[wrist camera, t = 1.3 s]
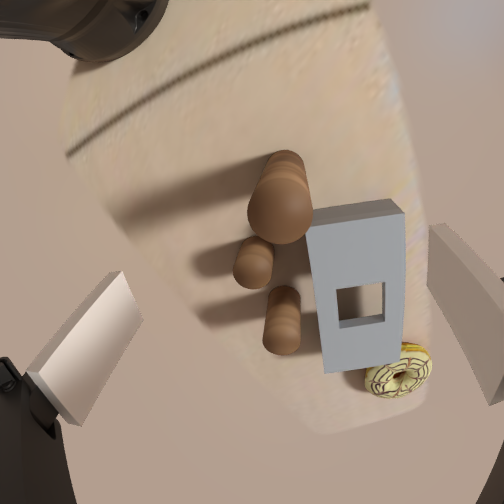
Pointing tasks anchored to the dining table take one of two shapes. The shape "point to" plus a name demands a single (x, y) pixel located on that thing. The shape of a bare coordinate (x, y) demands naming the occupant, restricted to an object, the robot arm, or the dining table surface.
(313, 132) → the dining table surface
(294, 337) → the medium dowel
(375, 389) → the decorated donut
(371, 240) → the bridge
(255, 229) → the long dowel
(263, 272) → the short dowel
